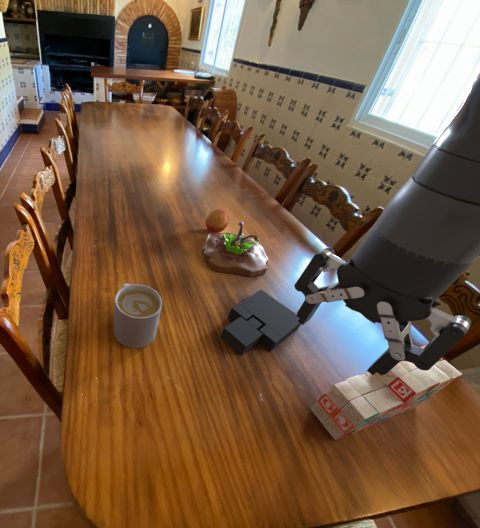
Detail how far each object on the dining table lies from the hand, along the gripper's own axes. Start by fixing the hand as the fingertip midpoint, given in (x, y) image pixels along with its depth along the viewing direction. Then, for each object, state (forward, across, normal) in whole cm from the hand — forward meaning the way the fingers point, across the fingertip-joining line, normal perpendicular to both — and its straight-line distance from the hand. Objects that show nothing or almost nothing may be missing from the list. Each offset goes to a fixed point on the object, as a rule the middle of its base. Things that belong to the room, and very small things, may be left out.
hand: (335, 343), depth 37 cm
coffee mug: (+26, -32, -6) cm, 41 cm away
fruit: (+26, -50, +43) cm, 71 cm away
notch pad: (+26, -15, +22) cm, 37 cm away
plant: (+26, -37, +37) cm, 59 cm away
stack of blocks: (+26, +9, +20) cm, 34 cm away
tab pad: (+26, -15, +13) cm, 33 cm away
